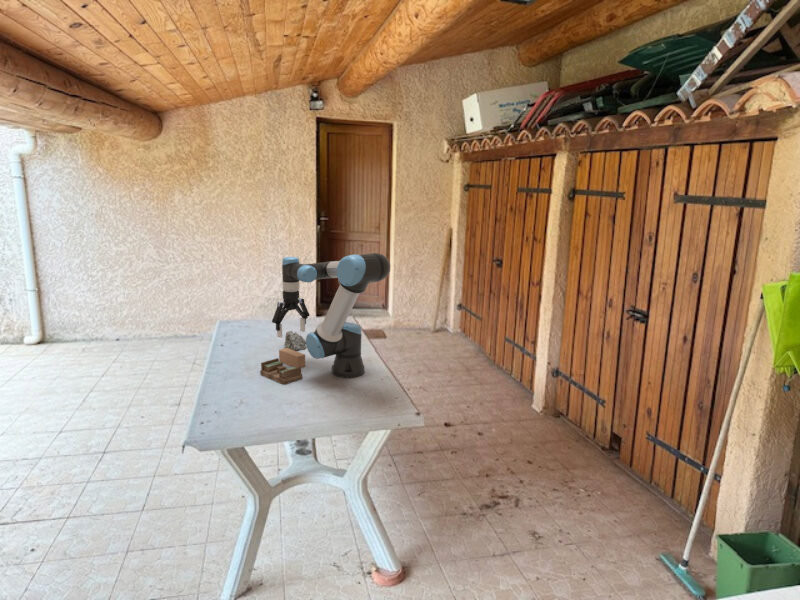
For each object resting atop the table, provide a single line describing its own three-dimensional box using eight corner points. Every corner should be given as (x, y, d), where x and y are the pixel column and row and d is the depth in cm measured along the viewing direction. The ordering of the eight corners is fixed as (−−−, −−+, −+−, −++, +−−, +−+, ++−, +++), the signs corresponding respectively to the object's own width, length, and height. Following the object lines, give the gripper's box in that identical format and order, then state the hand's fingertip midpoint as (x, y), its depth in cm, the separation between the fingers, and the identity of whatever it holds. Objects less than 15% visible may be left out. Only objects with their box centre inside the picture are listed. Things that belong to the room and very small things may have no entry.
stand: (302, 378, 227) (302, 366, 226) (284, 384, 220) (283, 372, 218) (278, 369, 238) (278, 357, 236) (260, 374, 230) (260, 363, 229)
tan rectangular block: (305, 366, 243) (305, 354, 241) (297, 368, 239) (297, 356, 238) (286, 359, 252) (286, 347, 250) (279, 361, 248) (279, 349, 247)
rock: (277, 350, 270) (278, 339, 262) (287, 337, 276) (289, 326, 269) (299, 361, 268) (301, 351, 261) (308, 349, 275) (310, 338, 268)
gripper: (306, 285, 249) (306, 327, 254) (263, 292, 231) (264, 337, 235) (316, 288, 245) (316, 330, 249) (273, 295, 226) (274, 341, 231)
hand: (291, 334), depth 242 cm, fingers open, 13 cm apart
